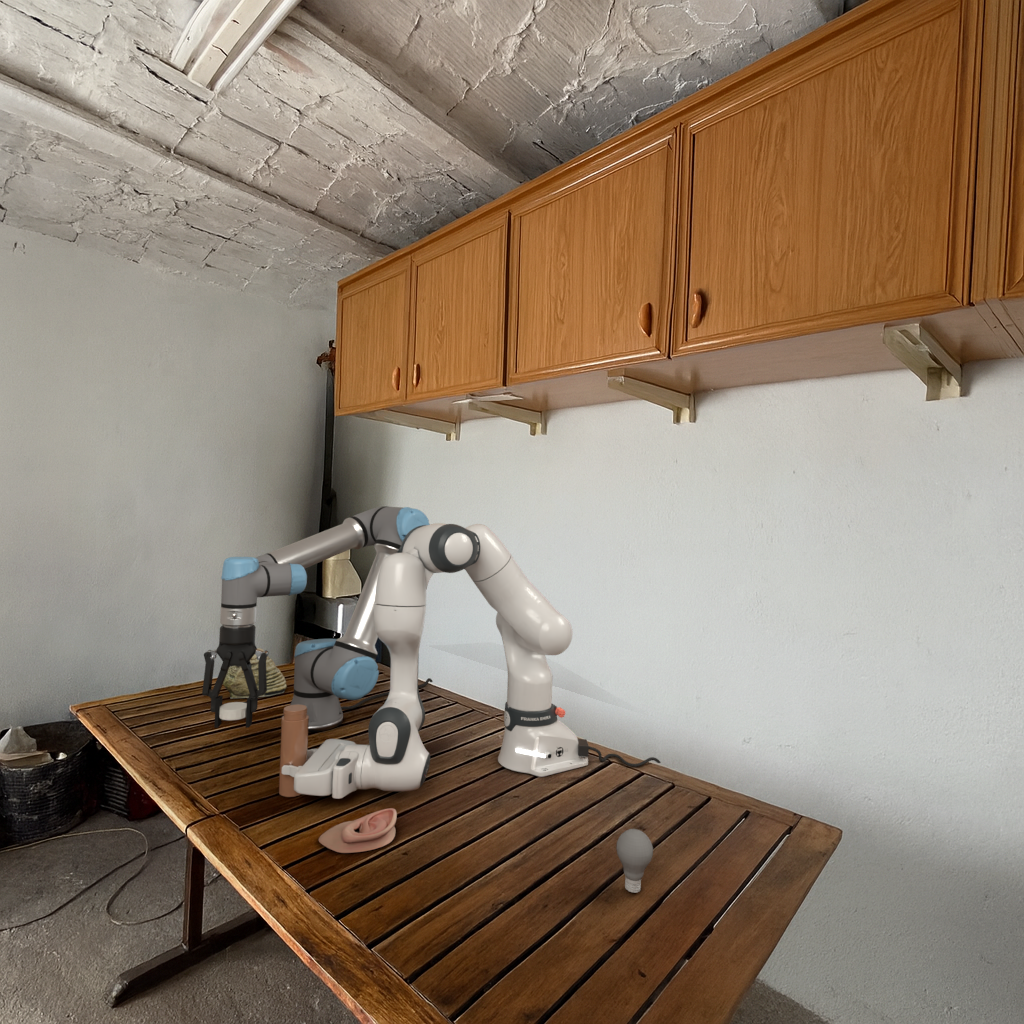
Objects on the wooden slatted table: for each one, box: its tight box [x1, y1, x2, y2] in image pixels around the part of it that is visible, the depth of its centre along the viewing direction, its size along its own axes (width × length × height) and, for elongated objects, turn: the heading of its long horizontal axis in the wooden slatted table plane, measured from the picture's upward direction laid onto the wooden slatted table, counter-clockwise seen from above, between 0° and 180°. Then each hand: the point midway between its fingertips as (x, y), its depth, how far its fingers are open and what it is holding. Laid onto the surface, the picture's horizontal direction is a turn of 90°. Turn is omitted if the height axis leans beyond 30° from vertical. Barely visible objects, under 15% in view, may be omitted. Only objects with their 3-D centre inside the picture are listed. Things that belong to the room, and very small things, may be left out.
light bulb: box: [615, 828, 654, 894], centre depth 106 cm, size 6×6×10 cm
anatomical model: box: [318, 807, 398, 854], centre depth 118 cm, size 13×4×12 cm
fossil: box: [222, 647, 288, 699], centre depth 198 cm, size 9×18×15 cm, turn 132°
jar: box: [278, 704, 309, 798], centre depth 136 cm, size 6×6×18 cm
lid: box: [219, 701, 247, 721], centre depth 145 cm, size 6×6×2 cm
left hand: (233, 725), depth 145 cm, fingers closed on lid, 6 cm apart
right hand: (289, 762), depth 136 cm, fingers closed on jar, 5 cm apart
